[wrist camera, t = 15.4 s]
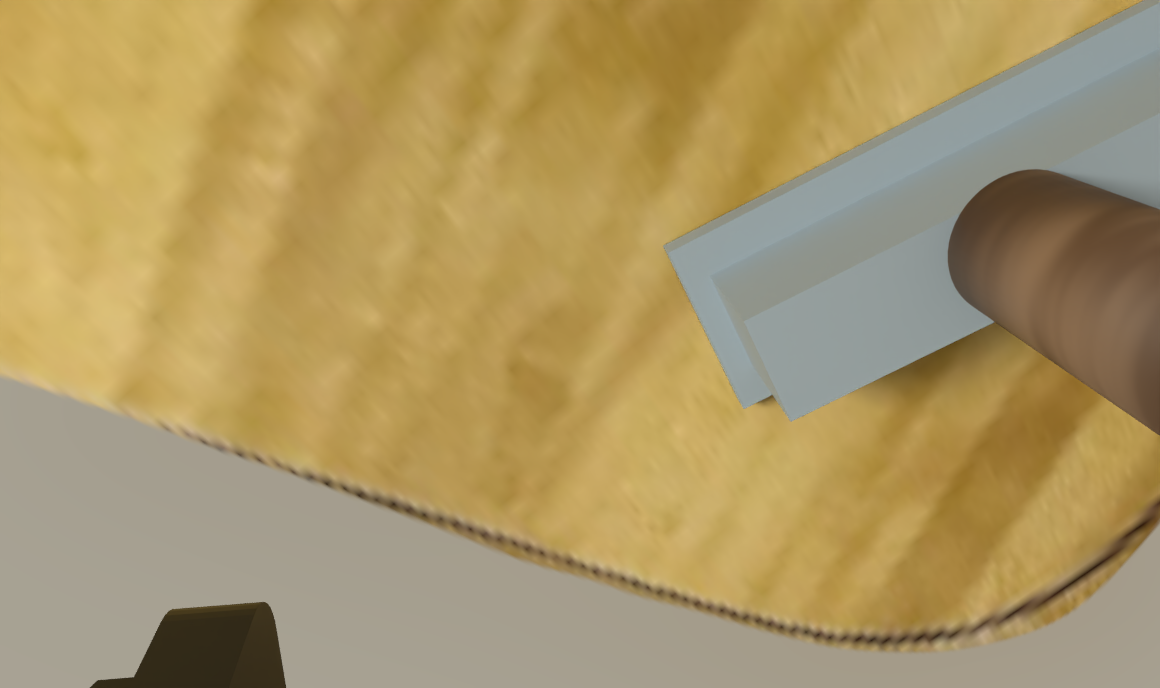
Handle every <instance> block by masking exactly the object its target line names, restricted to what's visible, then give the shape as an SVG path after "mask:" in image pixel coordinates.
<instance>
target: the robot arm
mask: <svg viewBox="0 0 1160 688" xmlns="http://www.w3.org/2000/svg"><path fill="white" fill-rule="evenodd" d="M90 688H286V684H285V678H284V672H283V666H282V660H281V654H280V648H279V642H278V636H277V631H276V624H275V620H274V616H273V613H272V610H271V608H270V606H269V605H268V604H267V603H265V602H259V603H245V604H234V605H220V606H207V607H196V608H182V609H172V610H170V611H169V612H168V613H167V614H166V615H165V616H164V618H163V620H162V621H161V623H160V625H159V627H158V629H157V631H156V633H155V636H154V638H153V640H152V642H151V644H150V646H149V648H148V650H147V652H146V654H145V656H144V658H143V660H142V662H141V664H140V666H139V668H138V670H137V672H136V674H135V676H134V677H132V678H120V679H108V680H98V681H97V682H95V683H94V684H93V685H92V686H91V687H90Z"/></svg>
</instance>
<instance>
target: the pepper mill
mask: <svg viewBox="0 0 1160 688" xmlns="http://www.w3.org/2000/svg"><path fill="white" fill-rule="evenodd" d="M948 267H949V273H950V276H951V279H952V282H953V284H954V286H955V288H956V289H957V291H958V293H959V294H960V295H961V296H962V298H963V299H964V300H965V301H966V302H968V303H969V304H970V305H971V306H972V307H974V308H975V309H977V310H978V311H980V312H981V313H983V314H984V315H986V316H987V317H988V318H990V319H991V320H993V321H994V322H996V323H997V324H999V325H1000V326H1002V327H1003V328H1004V329H1006V330H1007V331H1009V332H1010V333H1012V334H1013V335H1015V336H1016V337H1017V338H1019V339H1020V340H1022V341H1023V342H1025V343H1026V344H1028V345H1029V346H1031V347H1032V348H1033V349H1035V350H1036V351H1038V352H1039V353H1041V354H1042V355H1044V356H1045V357H1046V358H1048V359H1049V360H1051V361H1052V362H1054V363H1055V364H1057V365H1058V366H1060V367H1061V368H1062V369H1064V370H1065V371H1067V372H1068V373H1070V374H1071V375H1073V376H1074V377H1075V378H1077V379H1078V380H1080V381H1081V382H1083V383H1084V384H1086V385H1087V386H1089V387H1090V388H1091V389H1093V390H1094V391H1096V392H1097V393H1099V394H1100V395H1102V396H1103V397H1104V398H1106V399H1107V400H1109V401H1110V402H1112V403H1113V404H1115V405H1116V406H1118V407H1119V408H1120V409H1122V410H1123V411H1125V412H1126V413H1128V414H1129V415H1131V416H1132V417H1134V418H1135V419H1136V420H1138V421H1139V422H1141V423H1142V424H1144V425H1145V426H1147V427H1148V428H1149V429H1151V430H1152V431H1154V432H1155V433H1157V434H1158V435H1160V209H1157V208H1155V207H1152V206H1149V205H1146V204H1143V203H1141V202H1138V201H1135V200H1132V199H1129V198H1126V197H1124V196H1121V195H1118V194H1115V193H1112V192H1110V191H1107V190H1104V189H1101V188H1098V187H1096V186H1093V185H1090V184H1087V183H1084V182H1082V181H1079V180H1076V179H1073V178H1070V177H1067V176H1065V175H1062V174H1059V173H1056V172H1052V171H1049V170H1041V169H1028V170H1021V171H1017V172H1013V173H1010V174H1007V175H1005V176H1002V177H1000V178H998V179H996V180H994V181H993V182H991V183H989V184H988V185H987V186H985V187H984V188H983V189H981V190H980V191H979V192H978V193H977V194H976V195H975V196H974V197H973V198H972V199H971V200H970V201H969V202H968V203H967V205H966V206H965V207H964V209H963V210H962V212H961V213H960V215H959V217H958V219H957V221H956V222H955V225H954V227H953V230H952V232H951V236H950V240H949V246H948Z"/></svg>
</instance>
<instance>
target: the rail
mask: <svg viewBox="0 0 1160 688" xmlns="http://www.w3.org/2000/svg"><path fill="white" fill-rule="evenodd" d="M1028 169H1041V170H1049V171H1052V172H1056V173H1059V174H1062V175H1065V176H1067V177H1070V178H1073V179H1076V180H1079V181H1082V182H1084V183H1087V184H1090V185H1093V186H1096V187H1098V188H1101V189H1104V190H1107V191H1110V192H1112V193H1115V194H1118V195H1121V196H1124V197H1126V198H1129V199H1132V200H1135V201H1138V202H1141V203H1143V204H1146V205H1149V206H1152V207H1155V208H1157V209H1160V0H1144V1H1142V2H1140V3H1138V4H1136V5H1134V6H1132V7H1130V8H1128V9H1126V10H1124V11H1122V12H1120V13H1118V14H1116V15H1114V16H1112V17H1110V18H1108V19H1106V20H1104V21H1103V22H1101V23H1099V24H1097V25H1095V26H1093V27H1091V28H1089V29H1087V30H1085V31H1083V32H1081V33H1079V34H1077V35H1075V36H1073V37H1071V38H1069V39H1067V40H1065V41H1063V42H1061V43H1059V44H1057V45H1056V46H1054V47H1052V48H1050V49H1048V50H1046V51H1044V52H1042V53H1040V54H1038V55H1036V56H1034V57H1032V58H1030V59H1028V60H1026V61H1024V62H1022V63H1020V64H1018V65H1016V66H1014V67H1012V68H1010V69H1009V70H1007V71H1005V72H1003V73H1001V74H999V75H997V76H995V77H993V78H991V79H989V80H987V81H985V82H983V83H981V84H979V85H977V86H975V87H973V88H971V89H969V90H967V91H965V92H963V93H961V94H960V95H958V96H956V97H954V98H952V99H950V100H948V101H946V102H944V103H942V104H940V105H938V106H936V107H934V108H932V109H930V110H928V111H926V112H924V113H922V114H920V115H918V116H916V117H914V118H913V119H911V120H909V121H907V122H905V123H903V124H901V125H899V126H897V127H895V128H893V129H891V130H889V131H887V132H885V133H883V134H881V135H879V136H877V137H875V138H873V139H871V140H869V141H867V142H865V143H864V144H862V145H860V146H858V147H856V148H854V149H852V150H850V151H848V152H846V153H844V154H842V155H840V156H838V157H836V158H834V159H832V160H830V161H828V162H826V163H824V164H822V165H820V166H818V167H817V168H815V169H813V170H811V171H809V172H807V173H805V174H803V175H801V176H799V177H797V178H795V179H793V180H791V181H789V182H787V183H785V184H783V185H781V186H779V187H777V188H775V189H773V190H771V191H770V192H768V193H766V194H764V195H762V196H760V197H758V198H756V199H754V200H752V201H750V202H748V203H746V204H744V205H742V206H740V207H738V208H736V209H734V210H732V211H730V212H728V213H726V214H724V215H722V216H721V217H719V218H717V219H715V220H713V221H711V222H709V223H707V224H705V225H703V226H701V227H699V228H697V229H695V230H693V231H691V232H689V233H687V234H685V235H683V236H681V237H679V238H677V239H675V240H674V241H672V242H670V243H668V244H666V245H664V246H663V247H664V249H665V251H666V253H667V255H668V257H669V259H670V261H671V263H672V265H673V267H674V269H675V271H676V273H677V275H678V277H679V279H680V282H681V284H682V286H683V288H684V290H685V292H686V294H687V296H688V298H689V300H690V302H691V304H692V306H693V308H694V310H695V312H696V314H697V316H698V318H699V320H700V323H701V325H702V327H703V329H704V331H705V333H706V335H707V337H708V339H709V341H710V343H711V345H712V347H713V349H714V351H715V353H716V355H717V357H718V359H719V362H720V364H721V366H722V368H723V370H724V372H725V374H726V376H727V378H728V380H729V382H730V384H731V386H732V388H733V390H734V392H735V394H736V396H737V398H738V400H739V402H740V403H741V405H742V407H743V408H744V409H745V408H747V407H749V406H751V405H753V404H755V403H757V402H759V401H761V400H763V399H765V398H767V397H769V396H771V395H773V396H774V398H775V399H776V401H777V402H778V404H779V405H780V407H781V408H782V410H783V411H784V412H785V414H786V415H787V417H788V418H789V420H790V421H793V420H795V419H797V418H799V417H801V416H804V415H806V414H808V413H810V412H812V411H814V410H816V409H818V408H820V407H822V406H824V405H826V404H828V403H830V402H832V401H834V400H836V399H838V398H840V397H842V396H844V395H846V394H849V393H851V392H853V391H855V390H857V389H859V388H861V387H863V386H865V385H867V384H869V383H871V382H873V381H875V380H877V379H879V378H881V377H883V376H885V375H887V374H889V373H891V372H894V371H896V370H898V369H900V368H902V367H904V366H906V365H908V364H910V363H912V362H914V361H916V360H918V359H920V358H922V357H924V356H926V355H928V354H930V353H932V352H934V351H936V350H939V349H941V348H943V347H945V346H947V345H949V344H951V343H953V342H955V341H957V340H959V339H961V338H963V337H965V336H967V335H969V334H971V333H973V332H975V331H977V330H979V329H982V328H984V327H986V326H988V325H990V324H992V323H994V321H993V320H991V319H990V318H988V317H987V316H986V315H984V314H983V313H981V312H980V311H978V310H977V309H975V308H974V307H972V306H971V305H970V304H969V303H968V302H966V301H965V300H964V299H963V298H962V296H961V295H960V294H959V293H958V291H957V289H956V288H955V286H954V284H953V282H952V279H951V276H950V273H949V267H948V246H949V240H950V236H951V232H952V230H953V227H954V225H955V222H956V221H957V219H958V217H959V215H960V213H961V212H962V210H963V209H964V207H965V206H966V205H967V203H968V202H969V201H970V200H971V199H972V198H973V197H974V196H975V195H976V194H977V193H978V192H979V191H980V190H981V189H983V188H984V187H985V186H987V185H988V184H989V183H991V182H993V181H994V180H996V179H998V178H1000V177H1002V176H1005V175H1007V174H1010V173H1013V172H1017V171H1021V170H1028Z"/></svg>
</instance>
